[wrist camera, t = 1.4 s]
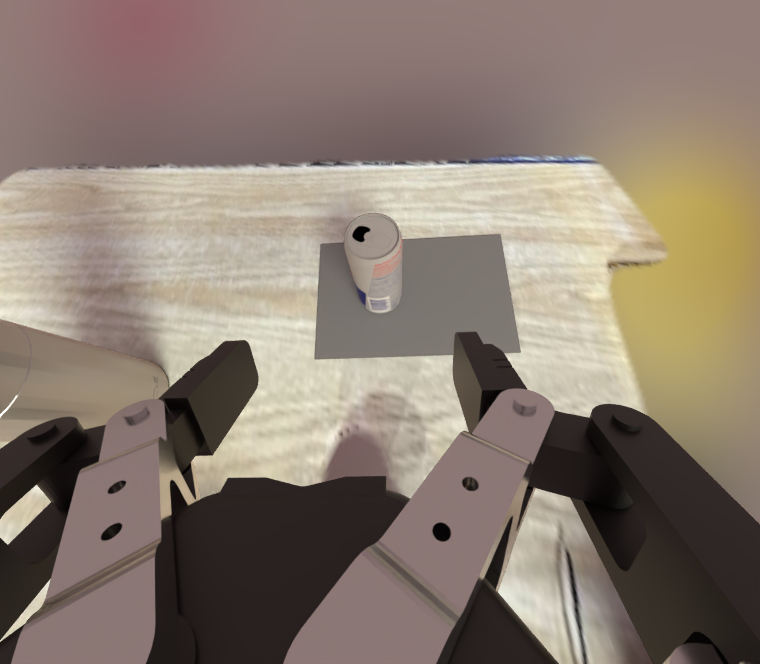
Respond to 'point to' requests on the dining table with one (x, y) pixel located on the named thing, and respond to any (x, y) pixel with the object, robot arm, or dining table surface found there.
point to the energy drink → (375, 261)
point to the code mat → (419, 301)
